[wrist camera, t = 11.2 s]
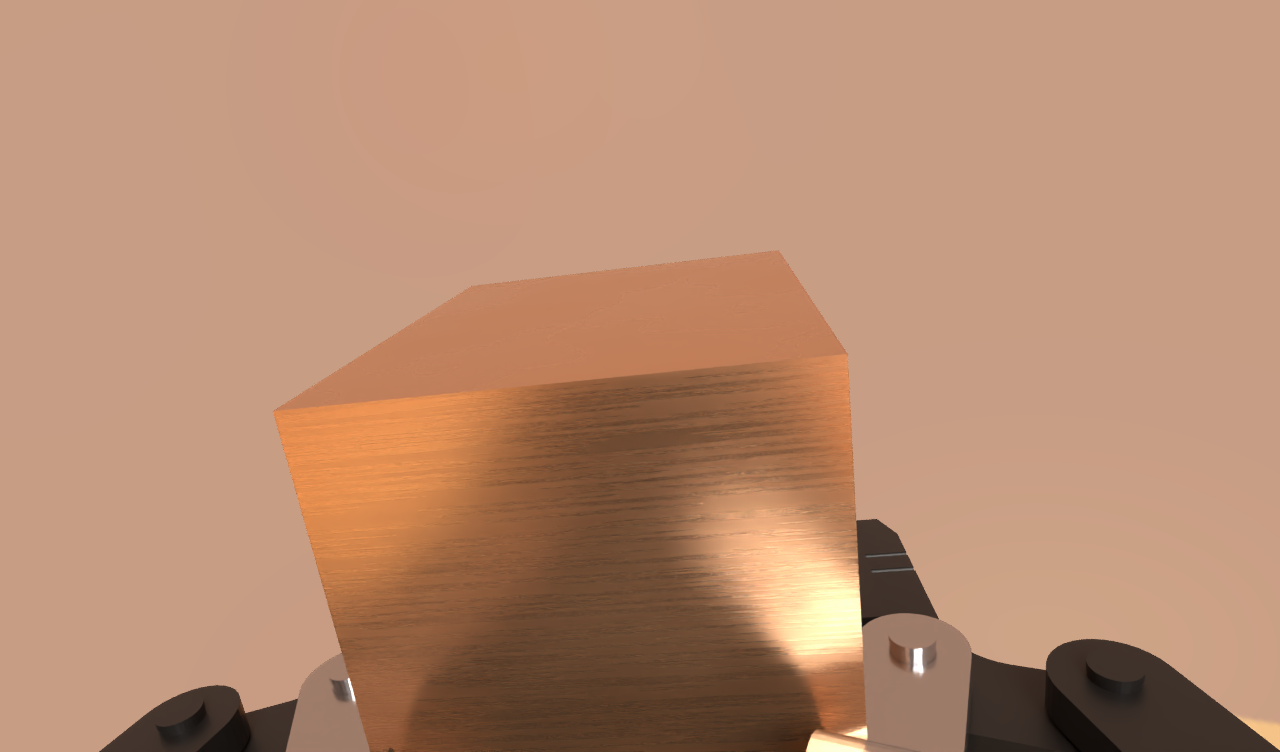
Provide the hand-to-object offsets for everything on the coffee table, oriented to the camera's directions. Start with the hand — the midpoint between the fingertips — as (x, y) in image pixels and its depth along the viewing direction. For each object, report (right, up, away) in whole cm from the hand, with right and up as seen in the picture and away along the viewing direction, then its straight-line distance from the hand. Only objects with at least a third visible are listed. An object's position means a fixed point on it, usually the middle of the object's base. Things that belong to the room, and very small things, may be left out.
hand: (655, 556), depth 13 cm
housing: (+1, -6, -1) cm, 7 cm away
